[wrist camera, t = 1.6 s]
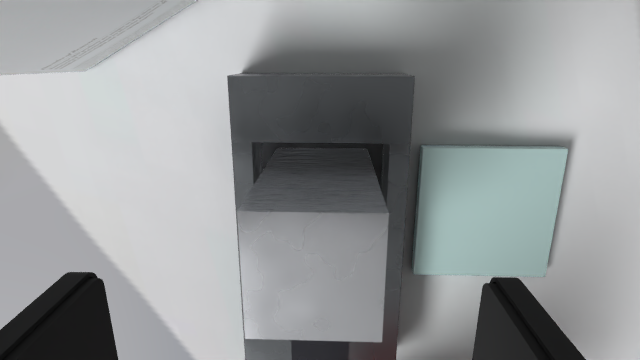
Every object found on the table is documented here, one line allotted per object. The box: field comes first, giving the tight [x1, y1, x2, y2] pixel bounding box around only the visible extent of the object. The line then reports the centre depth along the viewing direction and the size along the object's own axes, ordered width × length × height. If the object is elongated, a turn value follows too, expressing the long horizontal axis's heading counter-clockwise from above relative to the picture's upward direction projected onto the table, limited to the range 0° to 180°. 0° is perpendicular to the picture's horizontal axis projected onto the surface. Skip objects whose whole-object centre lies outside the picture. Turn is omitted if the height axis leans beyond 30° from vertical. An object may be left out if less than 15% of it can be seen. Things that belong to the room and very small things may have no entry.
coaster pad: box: [412, 145, 568, 277], centre depth 21 cm, size 7×7×1 cm
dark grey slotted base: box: [227, 73, 415, 360], centre depth 21 cm, size 16×8×3 cm, turn 0°
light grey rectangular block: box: [237, 148, 389, 342], centre depth 17 cm, size 5×5×9 cm
